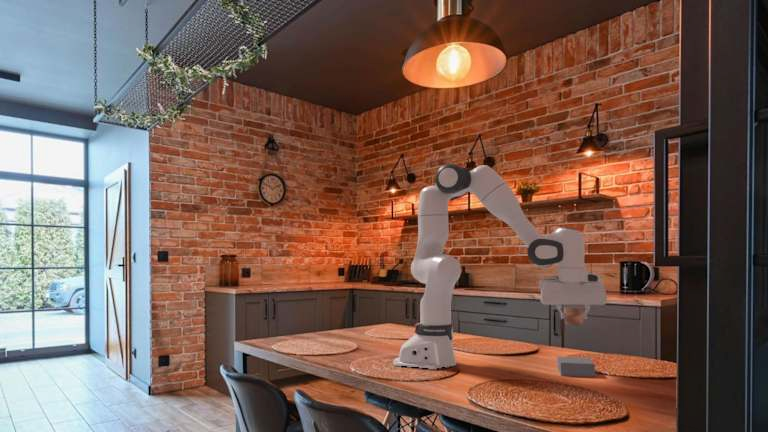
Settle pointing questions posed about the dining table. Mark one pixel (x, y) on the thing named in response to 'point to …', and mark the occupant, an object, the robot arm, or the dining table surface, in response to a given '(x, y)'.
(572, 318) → the cube
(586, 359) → the base block
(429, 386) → the dining table surface
